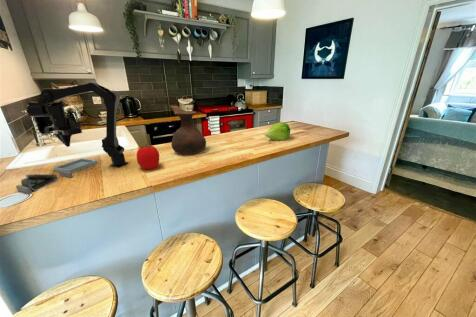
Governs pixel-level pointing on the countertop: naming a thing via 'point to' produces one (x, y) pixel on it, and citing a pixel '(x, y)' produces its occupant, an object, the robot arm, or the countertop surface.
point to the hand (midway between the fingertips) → (68, 146)
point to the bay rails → (27, 190)
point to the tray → (75, 165)
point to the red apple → (148, 157)
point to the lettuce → (278, 131)
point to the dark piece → (38, 181)
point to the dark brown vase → (187, 134)
